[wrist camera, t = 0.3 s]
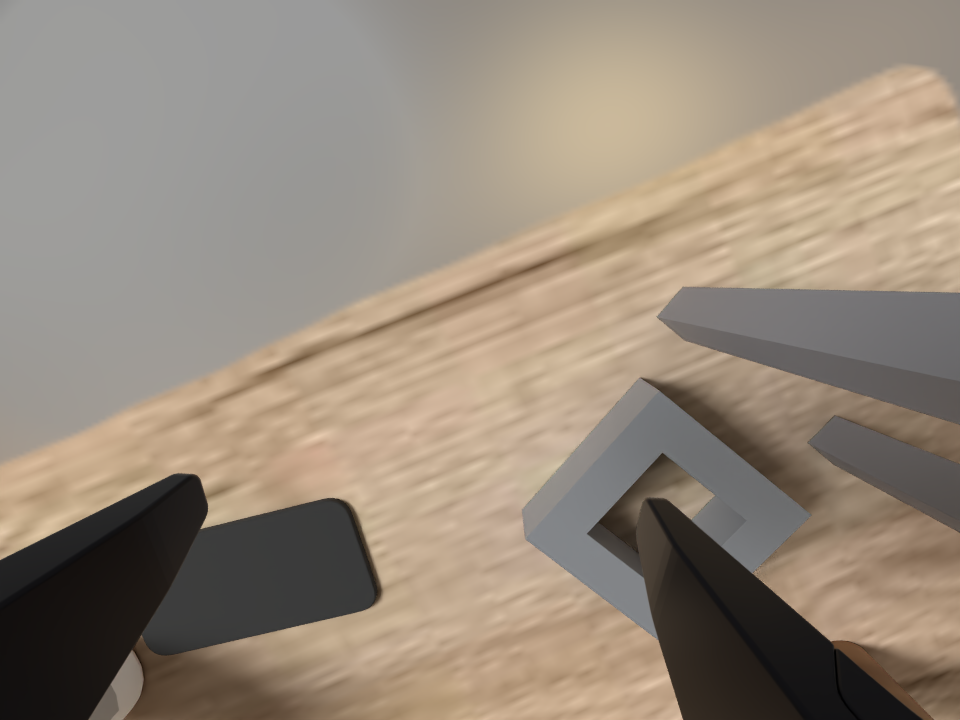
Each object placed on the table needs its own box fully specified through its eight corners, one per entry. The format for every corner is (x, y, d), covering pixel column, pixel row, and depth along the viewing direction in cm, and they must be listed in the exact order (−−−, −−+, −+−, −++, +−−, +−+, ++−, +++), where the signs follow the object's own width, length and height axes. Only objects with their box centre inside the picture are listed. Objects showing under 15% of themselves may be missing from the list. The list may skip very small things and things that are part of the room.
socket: (652, 610, 27) (672, 650, 24) (522, 509, 26) (525, 539, 23) (774, 488, 25) (811, 515, 22) (639, 377, 24) (659, 390, 21)
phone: (381, 608, 27) (152, 660, 28) (384, 598, 28) (161, 650, 29) (342, 495, 26) (105, 554, 27) (347, 489, 27) (117, 546, 28)
